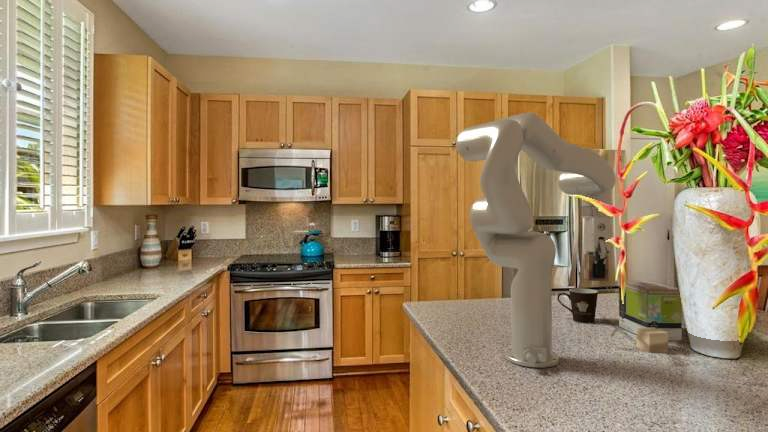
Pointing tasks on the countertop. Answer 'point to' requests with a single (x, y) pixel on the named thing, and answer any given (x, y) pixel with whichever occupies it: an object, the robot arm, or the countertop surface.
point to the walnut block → (588, 268)
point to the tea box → (651, 308)
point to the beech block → (652, 339)
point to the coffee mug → (582, 304)
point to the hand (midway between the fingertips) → (595, 276)
